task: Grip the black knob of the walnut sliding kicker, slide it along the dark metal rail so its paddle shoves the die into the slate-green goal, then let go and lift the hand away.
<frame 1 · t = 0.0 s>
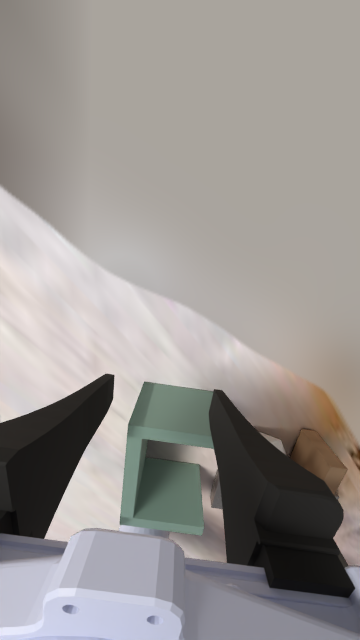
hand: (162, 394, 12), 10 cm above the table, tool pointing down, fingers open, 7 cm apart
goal: (172, 430, 26), on the table
kicker: (330, 508, 22), point 5 cm above the table, slide at 0.0 cm
rail: (269, 490, 28), on the table
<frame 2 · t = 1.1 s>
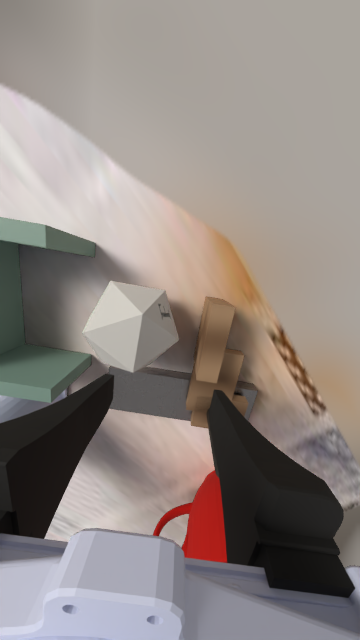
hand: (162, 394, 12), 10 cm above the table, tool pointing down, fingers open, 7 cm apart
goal: (51, 302, 21), on the table
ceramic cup: (212, 480, 28), on the table
kicker: (229, 382, 17), point 5 cm above the table, slide at 0.0 cm
die: (142, 317, 21), on the table
rail: (180, 392, 23), on the table
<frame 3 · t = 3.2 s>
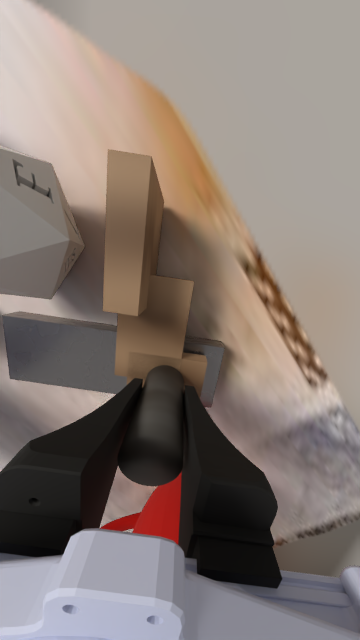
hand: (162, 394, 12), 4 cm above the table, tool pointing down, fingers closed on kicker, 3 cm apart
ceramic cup: (176, 480, 21), on the table
kicker: (164, 319, 11), point 5 cm above the table, slide at 0.0 cm, touching gripper
die: (51, 239, 14), on the table
rail: (119, 356, 16), on the table
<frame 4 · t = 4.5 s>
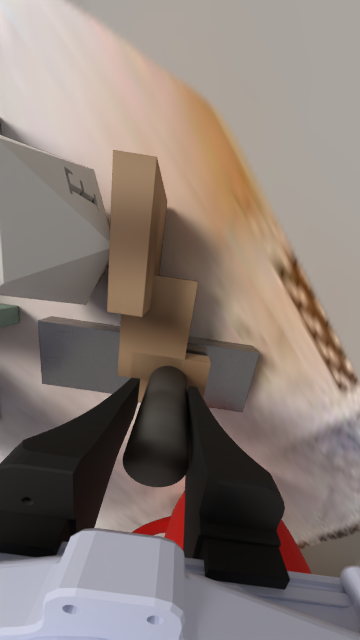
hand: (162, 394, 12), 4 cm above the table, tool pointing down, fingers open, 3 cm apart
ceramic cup: (200, 484, 21), on the table
kicker: (168, 320, 11), point 5 cm above the table, slide at 2.7 cm, touching die, gripper
die: (81, 244, 14), on the table, touching kicker
rail: (149, 360, 16), on the table
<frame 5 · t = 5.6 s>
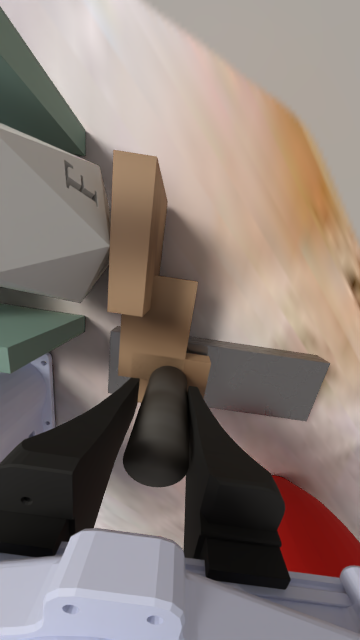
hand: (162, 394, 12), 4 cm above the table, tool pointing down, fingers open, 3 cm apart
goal: (23, 235, 14), on the table
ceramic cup: (250, 491, 21), on the table
kicker: (169, 320, 11), point 5 cm above the table, slide at 8.7 cm, touching die, gripper
die: (86, 241, 14), on the table, touching kicker
rail: (211, 369, 17), on the table
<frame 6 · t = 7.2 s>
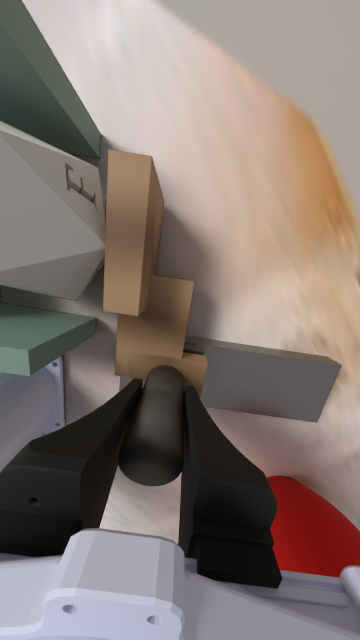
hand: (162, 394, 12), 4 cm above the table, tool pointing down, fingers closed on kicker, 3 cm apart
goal: (36, 237, 14), on the table
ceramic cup: (258, 491, 21), on the table
kicker: (165, 319, 11), point 5 cm above the table, slide at 10.0 cm, touching die, gripper
die: (80, 239, 14), on the table, touching kicker
rail: (222, 371, 17), on the table
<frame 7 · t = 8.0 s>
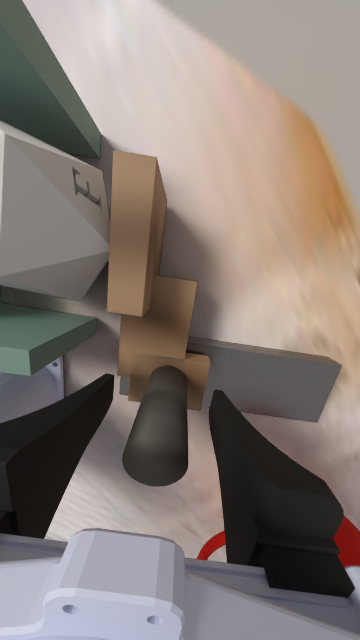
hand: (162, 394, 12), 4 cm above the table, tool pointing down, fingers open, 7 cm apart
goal: (36, 237, 14), on the table
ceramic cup: (258, 491, 21), on the table
kicker: (168, 319, 11), point 5 cm above the table, slide at 9.8 cm
die: (82, 239, 14), on the table
rail: (222, 371, 17), on the table
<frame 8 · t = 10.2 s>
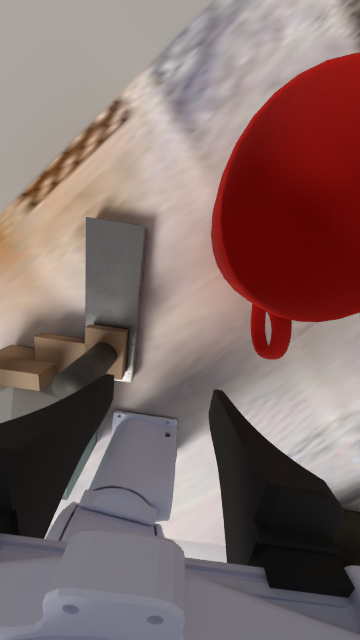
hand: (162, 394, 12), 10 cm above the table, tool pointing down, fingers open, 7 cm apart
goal: (47, 410, 26), on the table
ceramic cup: (254, 261, 20), on the table
kicker: (44, 358, 18), point 5 cm above the table, slide at 9.8 cm
die: (44, 389, 25), on the table
rail: (116, 307, 21), on the table
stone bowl: (328, 540, 32), on the table
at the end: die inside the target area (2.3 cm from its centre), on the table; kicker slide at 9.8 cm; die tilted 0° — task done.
